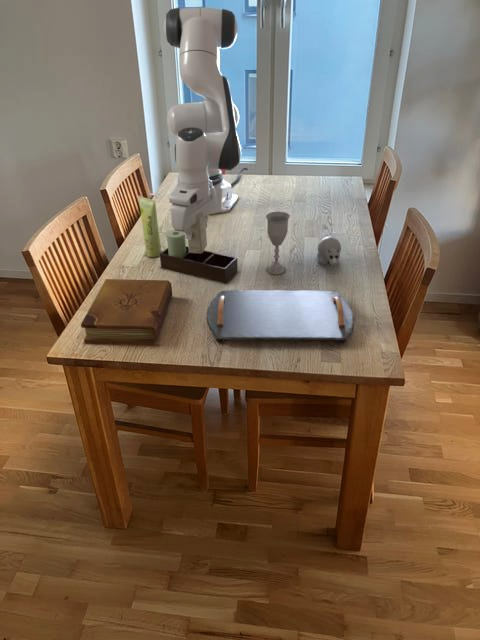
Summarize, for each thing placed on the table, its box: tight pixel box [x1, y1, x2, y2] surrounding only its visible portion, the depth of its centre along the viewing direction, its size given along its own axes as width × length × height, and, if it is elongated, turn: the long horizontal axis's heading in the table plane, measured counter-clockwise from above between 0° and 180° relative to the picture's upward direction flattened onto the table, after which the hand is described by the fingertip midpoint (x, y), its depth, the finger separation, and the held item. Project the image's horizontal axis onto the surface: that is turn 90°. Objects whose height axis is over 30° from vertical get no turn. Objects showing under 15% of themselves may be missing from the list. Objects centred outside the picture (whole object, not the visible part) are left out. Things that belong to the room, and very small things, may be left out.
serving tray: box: [205, 289, 355, 345], centre depth 138 cm, size 39×23×6 cm, turn 89°
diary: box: [80, 278, 173, 346], centre depth 140 cm, size 23×19×6 cm
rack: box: [159, 245, 238, 285], centre depth 162 cm, size 8×23×5 cm, turn 64°
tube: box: [138, 195, 162, 258], centre depth 167 cm, size 6×5×20 cm
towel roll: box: [166, 229, 187, 258], centre depth 163 cm, size 6×6×11 cm
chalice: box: [265, 211, 291, 275], centre depth 158 cm, size 7×7×18 cm
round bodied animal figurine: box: [316, 236, 342, 268], centre depth 163 cm, size 7×12×8 cm, turn 3°
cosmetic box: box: [187, 212, 208, 254], centre depth 156 cm, size 6×4×12 cm
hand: (196, 233), depth 157 cm, fingers closed on cosmetic box, 6 cm apart
